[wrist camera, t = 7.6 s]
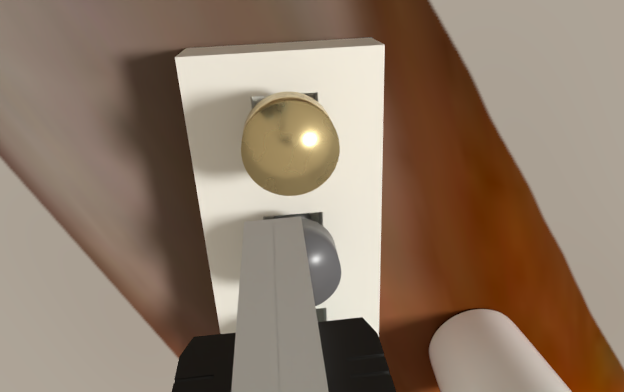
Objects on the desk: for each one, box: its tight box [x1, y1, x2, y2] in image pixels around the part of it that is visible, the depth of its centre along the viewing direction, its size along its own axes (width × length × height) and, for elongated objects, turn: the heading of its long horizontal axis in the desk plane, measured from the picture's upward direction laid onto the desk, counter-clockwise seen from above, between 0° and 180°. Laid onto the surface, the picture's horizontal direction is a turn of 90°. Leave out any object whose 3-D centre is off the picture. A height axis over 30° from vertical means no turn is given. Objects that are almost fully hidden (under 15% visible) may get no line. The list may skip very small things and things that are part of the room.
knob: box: [241, 92, 340, 196], centre depth 27 cm, size 5×5×7 cm
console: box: [175, 37, 385, 337], centre depth 33 cm, size 25×12×4 cm, turn 3°
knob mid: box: [274, 213, 341, 306], centre depth 31 cm, size 5×5×7 cm
